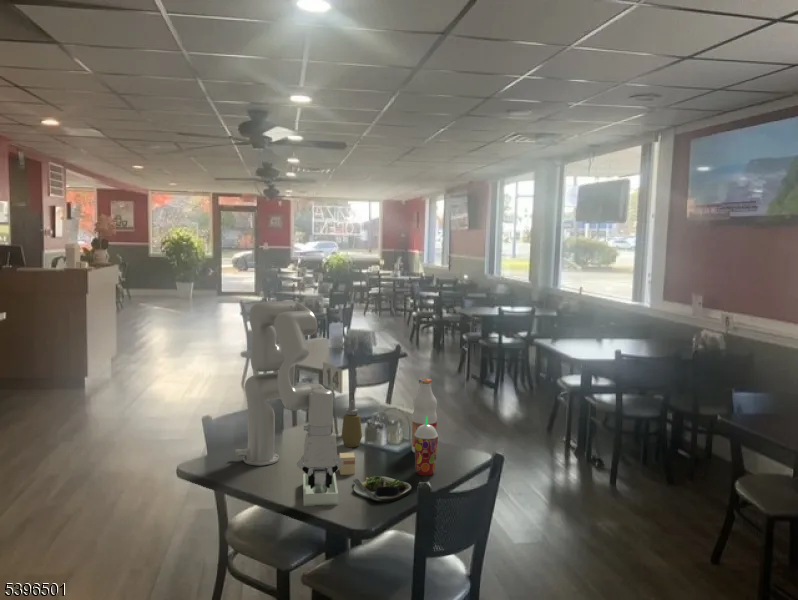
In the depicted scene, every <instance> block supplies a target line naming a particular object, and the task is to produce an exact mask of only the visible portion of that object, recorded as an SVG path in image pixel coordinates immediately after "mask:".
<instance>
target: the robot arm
mask: <svg viewBox="0 0 798 600" xmlns="http://www.w3.org/2000/svg"><path fill="white" fill-rule="evenodd" d="M248 315H249V316H248V317H249V323H250V324H249V325H250V328H251V347H250V348H251V353H250V365H251V368H252V369H253V371H255V372H258V374H253V375H252V376H250V377H248V378H247V379H246V381H245V383H244V389H245V390H244V391H245V397H246V404H247V406H246V407H247V447H246V448H244V449H241V448H240V449H239V448H238V449H237V448H236V449H235V451H234V452H235V456H238V457H243V462H244V463H245V464H247V465H250V466H254V467H255V466H260V467H261V466H269V465H272V464H275V463H277V462H278V461H279V460H280V455H279V454H278V453H276V452H275V451H276V450H275V449H276V448H275V447H276V446H275V445H276V441H275V440H276V439H275V437H276V436H275V435H276V431H275V430H276V427H275V425H276V424H275V422H276V421H275V420H276V419H275V418H276V416H275V415H276V414H275V409H274V408H273V406H272V405H271V403H270V402H269V401H271V400H277V399H280V400H281V402H282V404H283V407H284V409H286V410H288V411H291V412H292V411H300V410H306V409H307V410H308V416H307V417H308V421H307V425H303V431H306V433H305V438H304V445H303V455H302V456H301V457H300V459H299V460H298V461H297V462H296V467H297V468H299V469H301V470H302V471H303V472H304V474H305V473H306V474H307V475H308V485H310V488H311V489H312V488H313V474H312V473H313V468H324V467H326V468H328V475H327V488H330V484H332V475H333V473H334V472H337V470H339V468H340V467H341V466H342V465H343V464H344V463H343V461H342V460H341V458H340V457H339V453H338V448H337V447H338V446H337V437H336V433H335V431H334V394H333V393H334V392H333V391H332V390H331V389H328V388H325V387H324V385H322V384H321V383H310V384H301V385H300V384H299V385H294V384H295V372H296V365H298V364H300V363H301V362H303V361H304V360H306V359H307V358H308V357H309V355H310V349H309V346H308V343H307V340H306V336H312V335H314V334H316V333H317V331H318V319H317V317H316V316H315V314H314V313H313V311H312V310H311V309H309V308H308V307H306V306H305V305H304V304H303V303H301V302H298V301H295V300H285V301H283V300H282V301H281V300H280V301H262V302H257V303H253V305H252V306H251V307H250V310H249V313H248ZM277 339H278V343H277ZM272 371H273V372H272ZM274 371H278V372H274ZM260 372H267V373H260Z"/></svg>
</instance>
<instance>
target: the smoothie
mask: <svg viewBox="0 0 798 600" xmlns="http://www.w3.org/2000/svg"><path fill="white" fill-rule="evenodd" d="M427 418H428V417H427V416H426V424H423V425H421V426H419V427H418V429H417V430H416V432H415V433H414V440H415V453H414V460H415V462H414V463H415V470H416V473H417V474H418V475H420V476H423V477H424V476H431V475H433V474H434V472H435V471H436V465H437V451H438V441H439V434H438V433H437V432H436V430H435V428H434V427H433V426H431V425H429V424H427Z"/></svg>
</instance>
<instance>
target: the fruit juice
mask: <svg viewBox="0 0 798 600" xmlns="http://www.w3.org/2000/svg"><path fill="white" fill-rule="evenodd" d="M432 380H433V379H431V378H419V379H418V384H419V388H418V391H417V393H416V395H415V396H414V398H413V399H412V400H413V401H412V405H413V412H412V417H411V421H412V424H411V426H412V428H411V451H412V452H413V454H415V440H414V433H415V432H416V430H417V429H418V427H419V426H421V425H423V424H426V416H427V417H428V418H427V424H429V425H431V426H433V427H434V428H435V430H436V432H437V429H438V428H437V425H438V416H437V412H436V409H437V407H438V406H437V405H438V401H437V398H436V397H435V395H434V393H433V390H432V383H433V381H432Z"/></svg>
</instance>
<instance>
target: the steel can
mask: <svg viewBox="0 0 798 600" xmlns="http://www.w3.org/2000/svg"><path fill="white" fill-rule="evenodd" d="M312 473H313V490H312V491H313V493H326V492H327V475H328V467H324V468H313V470H312Z"/></svg>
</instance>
